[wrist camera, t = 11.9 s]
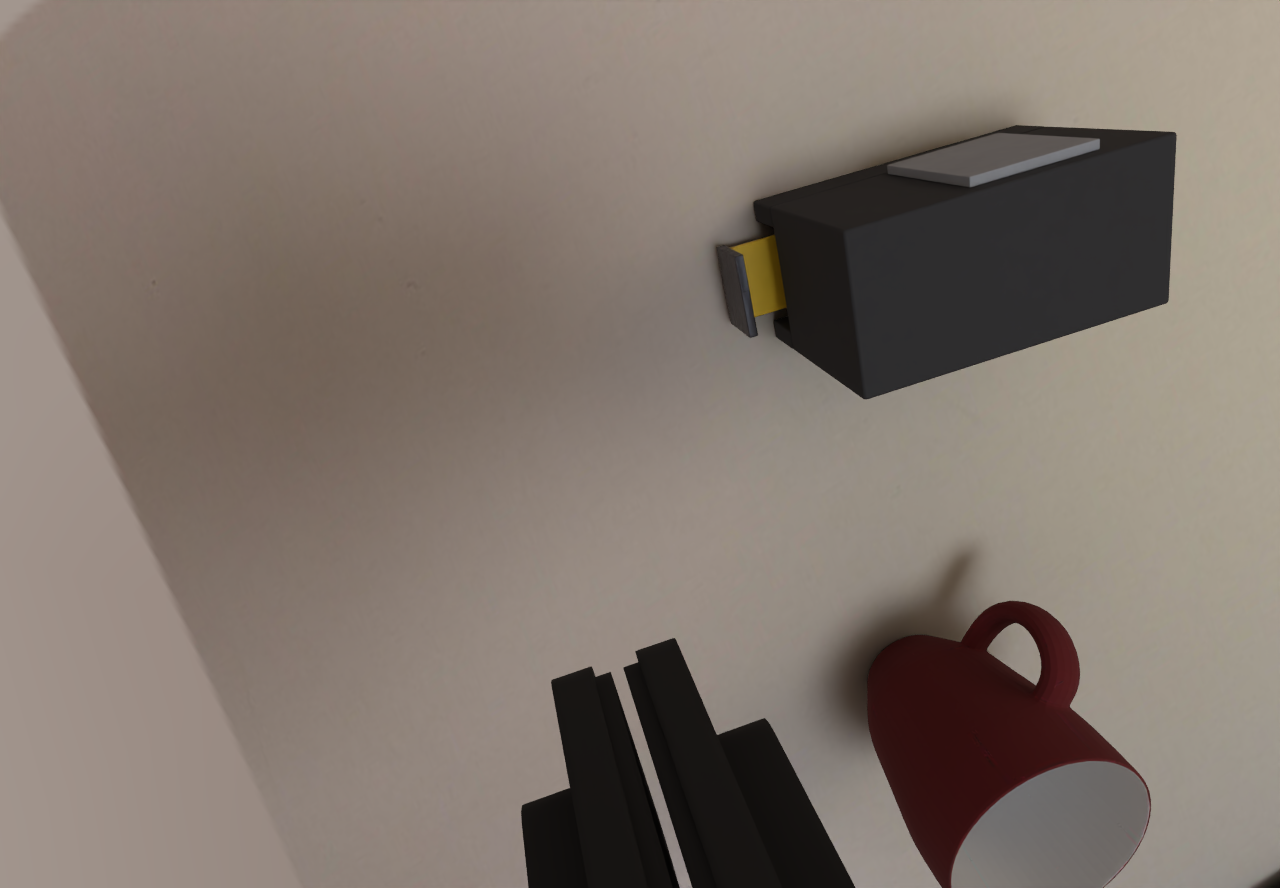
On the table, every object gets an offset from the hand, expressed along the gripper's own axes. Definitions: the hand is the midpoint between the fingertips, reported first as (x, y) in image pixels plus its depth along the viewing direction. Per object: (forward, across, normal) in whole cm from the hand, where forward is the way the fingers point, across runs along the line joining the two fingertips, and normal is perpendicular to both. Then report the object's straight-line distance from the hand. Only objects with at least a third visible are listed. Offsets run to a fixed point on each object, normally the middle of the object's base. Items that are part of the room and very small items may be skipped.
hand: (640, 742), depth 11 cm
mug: (+19, -13, +19) cm, 30 cm away
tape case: (+19, -14, 0) cm, 24 cm away
